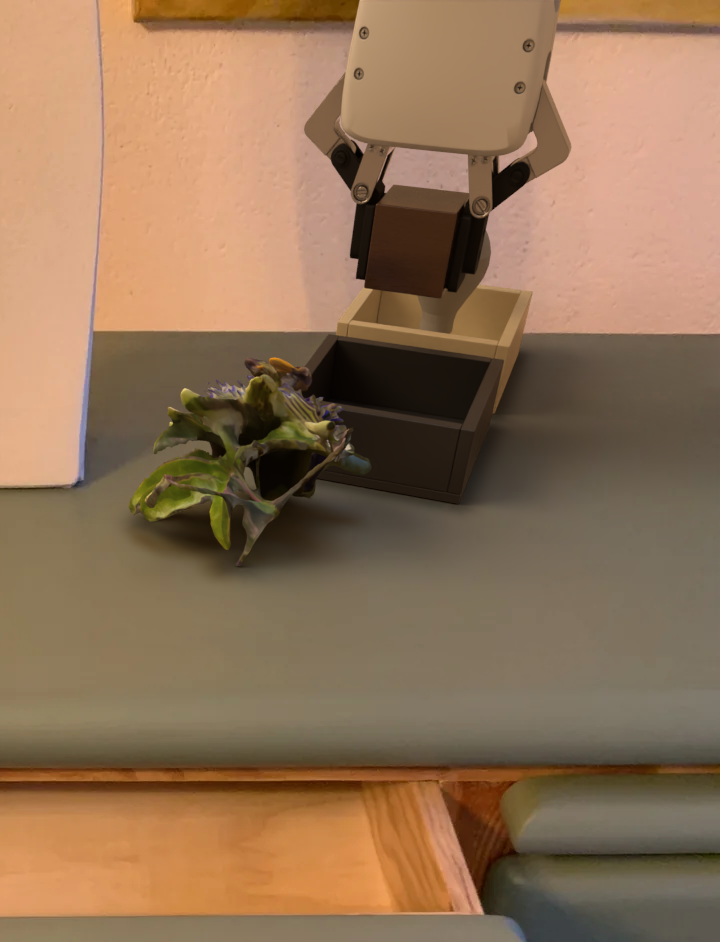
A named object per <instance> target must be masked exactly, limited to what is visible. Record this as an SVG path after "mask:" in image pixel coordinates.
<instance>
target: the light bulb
mask: <svg viewBox="0 0 720 942" xmlns="http://www.w3.org/2000/svg"><path fill="white" fill-rule="evenodd" d="M491 246H492V245H491V240H490V237H489V233H488V231H487V230H486V232H485V236H484V241H483V246H482V251H481V256H480V261H479V265H478V268H477V271H476V273H475V275H474V274H466V275H465V278H464V280H463V282H462V284H461V286H460V288H459V289H458V291H457V293H455V292H448V291H447V290H448V289H446V291H445V293H444V294H443V296H442V298H440V299H439V298H432V297H425V296H418V295H417V297H418V300H419V303H420V306H421V309H422V318H421V323H420V330H425V331H432V332H439V333H446V334H450V333H451V332H452V328H453V323H454V319H455V316H456V314H457V312H458V310H459V309H460V308H461V306H462V305H463V304H464V302H465V301H466V300H467V299H468V297H469V296H470V295H471V294H472V293H473V291H474V290H475V289H476V288H477V286H478V285H481V284H480V283H481V282H482V281H483V280H484V278H485V276H486V274H487V271H488V269H489V267H490V261H491V257H492V247H491Z"/></svg>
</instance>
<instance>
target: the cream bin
mask: <svg viewBox="0 0 720 942" xmlns="http://www.w3.org/2000/svg"><path fill="white" fill-rule="evenodd" d="M532 297H533V290H532V291H531V290H525V289H518V288H517V289H516V288H510V287H501V286H495V285H494V286H493V285H485V284H479V285H478V286H477V288H476V289H475V290H474V291H473V293H472V294H471V295H470V296H469V297H468V299H467V300H466V301H465V302H464V304H463V305H462V306H461V308H460V309H459V310H458V312H457V314H456V316H455V319H454V323H453V328H452V332H451V333H450V334H446V333H439V332H432V331H425V330H420V323H421V318H422V309H421V306H420V303H419V300H418V297H417V295H410V294H403V293H396V292H389V291H382V290H374V289H367V288H364V286H363V287H362V289H361V290H360V291H359V292H358V294H357V295H356V297H355V298H354V299H353V301H351V303H350V305H349V306H348V308H347V309H346V310H345V311H344V313H343V314H342V315H341V317H340V318H339V319H338V320H337V322H336V330H335V335H338V336H346V337H353V338H360V339H366V340H373V341H380V342H387V343H394V344H401V345H407V346H414V347H421V348H428V349H435V350H442V351H448V352H455V353H462V354H469V355H476V356H483V357H489V358H495V359H502V360H504V364H503V368H502V373H501V377H500V382H499V386H498V390H497V395H496V399H495V403H494V408H493V412H492V415H493V414H496V411H497V408H498V406H499V404H500V401H501V399H502V396H503V393H504V391H505V388H506V387H507V384H508V381H509V378H510V376H511V374H512V371H513V368H514V366H515V363H516V361H517V358H518V356H519V352H520V348H521V344H522V340H523V335H524V332H525V328H526V322H527V319H528V314H529V310H530V306H531V302H532Z"/></svg>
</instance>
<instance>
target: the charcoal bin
mask: <svg viewBox="0 0 720 942" xmlns="http://www.w3.org/2000/svg"><path fill="white" fill-rule="evenodd" d="M503 364H504V360H502V359H495V358H489V357H483V356H476V355H469V354H462V353H455V352H448V351H442V350H435V349H428V348H421V347H414V346H407V345H401V344H394V343H387V342H380V341H373V340H366V339H360V338H353V337H346V336H338V335H336V334H331V333H328V334H327V336H326V337H325V338H324V339H323V341H322V342H321V343H320V344H319V346H318V348H317V349H316V350H315V351H314V353H313V354H312V356H311V357H310V358H309V359H308V361H307V362H306V364H305V365H304V366H303V367H305V368H308V369H309V371H310V372H311V376H312V383H311V384H310V386H309V387H308V390H306V391H301V392H302V396H303V398H304V399H305V400H306V399H307V398H309V397H311V396H312V395H313V394H314V395H315V397H316V398H319V397H323V401H322V402H321V407H322V406H327V405H329V404H332V403H334V404H336V405H337V407H338V406H341V407H342V408H343V409H342V411H341V412H340V413H337V415H338V417H339V418H341V419H342V420H343V423H336V424H335V425H345V426H346V428H347V430H348V429H350V428H352V429H353V431H352V432H351V439H350V441H349V443H350V444H351V445H353V447H354V449H355V450H354V452H355V453H357V454H359V455H361V456H362V457H365V458H368V459H369V461H370V463H371V470H370V471H369V472H368V473H367V474H365V475H357V474H353V473H351V472H348V471H346V470H344V469H342V468H340V467H338V466H334V465H333V466H329V467H328V468H326V469H325V470H324V471H322V472H321V474H320V475H319V476H318V477H317V479H319V480H324V481H329V482H336V483H340V484H347V485H352V486H357V487H363V488H367V489H373V490H380V491H385V492H390V493H395V494H401V495H406V496H411V497H418V498H424V499H428V500H433V501H434V500H435V501H439V502H445V503H451V504H456V505H459V504H460V501H461V499H462V497H463V494H464V492H465V489H466V487H467V484H468V481H469V479H470V476H471V474H472V471H473V469H474V466H475V464H476V462H477V459H478V457H479V453H480V451H481V449H482V446H483V444H484V442H485V439H486V436H487V434H488V432H489V429H490V425H491V421H492V417H493V414H492V412H493V408H494V403H495V399H496V395H497V390H498V386H499V382H500V377H501V373H502V368H503Z"/></svg>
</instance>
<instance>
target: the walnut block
mask: <svg viewBox="0 0 720 942" xmlns="http://www.w3.org/2000/svg"><path fill="white" fill-rule="evenodd" d="M385 193H386V194H385V195H384V196H383V197H382V198H381V199H380V201H379V202H378V203H377V204H376V208H375V214H374V221H373V228H372V235H371V242H370V249H369V256H368V263H367V269H366V276H365V280H364V283H363V284H364V285H363V287H364V288H367V289H374V290H382V291H389V292H396V293H403V294H410V295H418V296H425V297H432V298H439V299H440V298H442V296H443V294H444V293H445V291H446V289H445V286H446V280H447V275H448V270H449V265H450V259H451V254H452V249H453V244H454V238H455V233H456V228H457V223H458V219H459V217H460V216H461V214H462V213H463V211H464V209H465V204H466V202H467V200H468V199H469V192H464V191H456V190H445V189H439V188H429V187H421V186H409V185H402V184H393V185H391V186H390V188H389V189H387V192H385Z"/></svg>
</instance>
